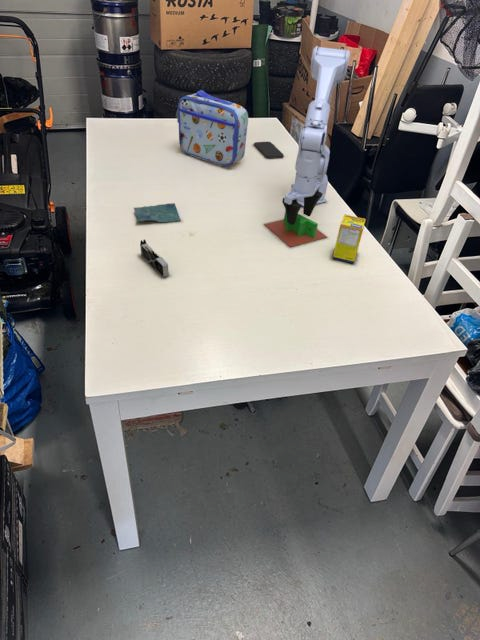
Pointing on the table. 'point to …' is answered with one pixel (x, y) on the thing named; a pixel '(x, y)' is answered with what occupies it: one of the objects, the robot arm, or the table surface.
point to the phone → (268, 150)
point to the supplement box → (348, 238)
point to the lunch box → (212, 128)
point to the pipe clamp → (302, 226)
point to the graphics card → (154, 259)
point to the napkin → (291, 234)
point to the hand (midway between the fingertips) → (298, 219)
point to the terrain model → (158, 213)
